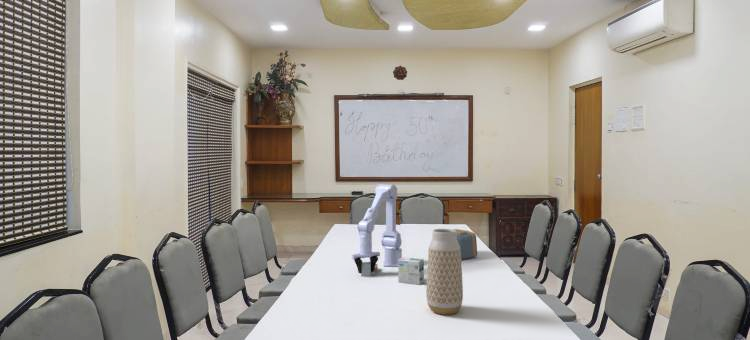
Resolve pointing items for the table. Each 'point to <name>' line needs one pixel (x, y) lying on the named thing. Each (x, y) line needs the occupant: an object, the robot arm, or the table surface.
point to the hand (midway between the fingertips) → (366, 272)
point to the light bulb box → (411, 270)
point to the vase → (444, 273)
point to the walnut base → (375, 269)
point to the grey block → (366, 269)
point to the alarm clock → (467, 244)
